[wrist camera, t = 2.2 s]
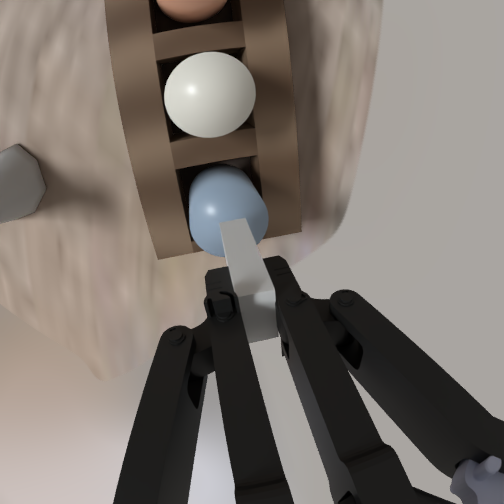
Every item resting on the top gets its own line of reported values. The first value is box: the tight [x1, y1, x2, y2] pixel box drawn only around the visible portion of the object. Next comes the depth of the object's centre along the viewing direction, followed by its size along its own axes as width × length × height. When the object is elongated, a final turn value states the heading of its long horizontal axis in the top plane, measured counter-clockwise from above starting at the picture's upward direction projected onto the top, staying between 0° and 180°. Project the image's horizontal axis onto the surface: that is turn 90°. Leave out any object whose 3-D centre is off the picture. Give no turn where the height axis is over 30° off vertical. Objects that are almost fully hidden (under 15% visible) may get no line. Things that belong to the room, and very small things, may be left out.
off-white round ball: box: [164, 52, 256, 138], centre depth 17 cm, size 5×5×5 cm
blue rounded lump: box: [189, 164, 269, 257], centre depth 21 cm, size 5×5×5 cm
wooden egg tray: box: [104, 0, 302, 260], centre depth 20 cm, size 24×12×4 cm, turn 6°
